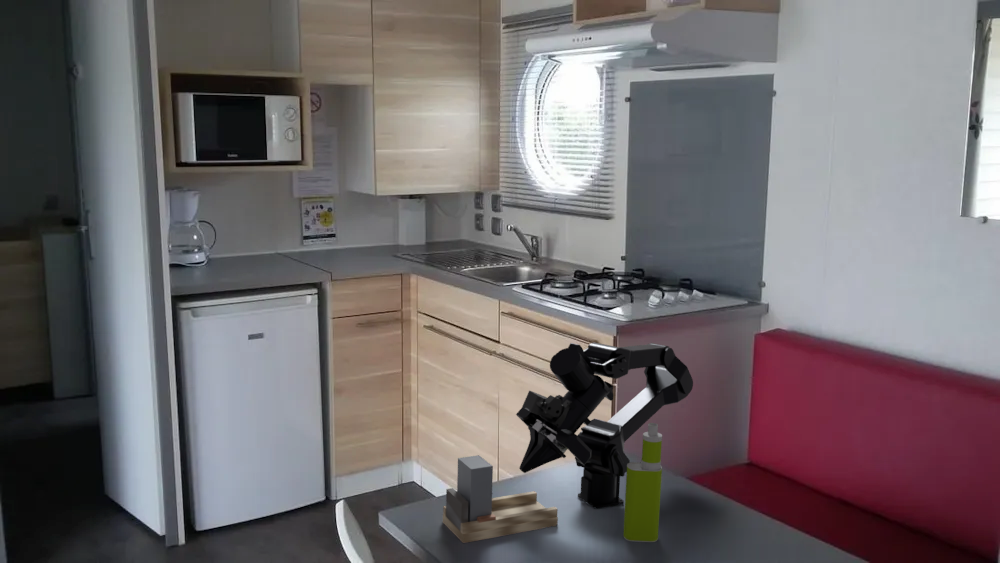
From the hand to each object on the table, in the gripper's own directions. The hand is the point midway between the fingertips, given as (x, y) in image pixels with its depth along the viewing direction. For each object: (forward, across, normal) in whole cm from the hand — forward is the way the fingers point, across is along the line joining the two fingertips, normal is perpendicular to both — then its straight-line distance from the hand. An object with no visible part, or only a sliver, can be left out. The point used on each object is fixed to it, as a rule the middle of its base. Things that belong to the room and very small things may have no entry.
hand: (521, 470), depth 154 cm
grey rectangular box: (+11, 0, -1) cm, 12 cm away
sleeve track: (+9, 0, +4) cm, 10 cm away
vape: (-5, +14, +18) cm, 23 cm away
